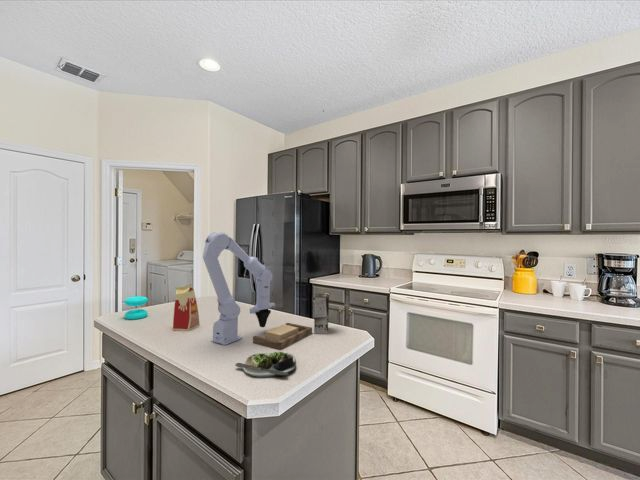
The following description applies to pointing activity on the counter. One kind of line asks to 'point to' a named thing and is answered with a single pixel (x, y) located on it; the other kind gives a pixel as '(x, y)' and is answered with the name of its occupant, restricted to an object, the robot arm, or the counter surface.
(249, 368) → the salad plate
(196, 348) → the counter surface
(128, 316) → the turquoise double disc piece
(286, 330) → the kraft carton
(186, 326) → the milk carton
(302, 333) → the tray
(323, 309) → the coffee box
